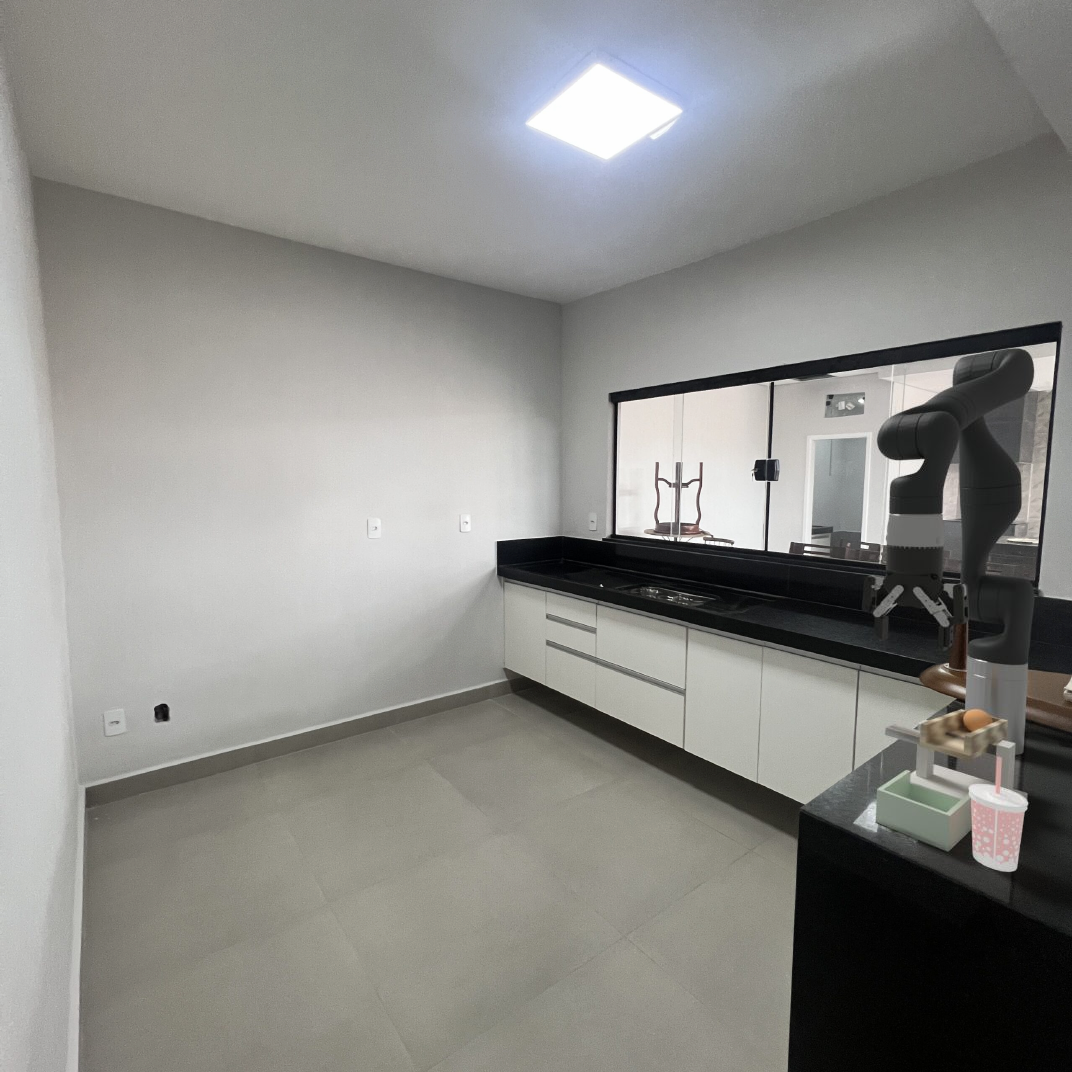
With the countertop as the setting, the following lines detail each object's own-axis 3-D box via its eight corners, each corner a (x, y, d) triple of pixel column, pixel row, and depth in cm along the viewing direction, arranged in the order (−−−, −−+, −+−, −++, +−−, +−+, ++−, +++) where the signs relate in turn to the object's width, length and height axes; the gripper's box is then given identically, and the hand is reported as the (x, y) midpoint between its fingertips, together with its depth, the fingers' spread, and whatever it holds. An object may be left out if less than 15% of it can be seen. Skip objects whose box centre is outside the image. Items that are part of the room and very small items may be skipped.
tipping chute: (926, 727, 107) (928, 701, 107) (1012, 750, 97) (1014, 722, 97) (884, 743, 96) (886, 714, 96) (976, 771, 86) (978, 738, 86)
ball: (964, 733, 100) (969, 712, 102) (992, 741, 97) (998, 719, 98) (957, 724, 98) (963, 702, 99) (986, 731, 95) (992, 709, 96)
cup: (906, 799, 93) (908, 768, 93) (976, 824, 86) (977, 791, 85) (875, 822, 86) (876, 789, 86) (948, 851, 79) (949, 815, 79)
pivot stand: (927, 767, 104) (929, 712, 104) (1027, 799, 93) (1030, 738, 93) (899, 787, 97) (901, 728, 96) (1003, 824, 86) (1007, 757, 85)
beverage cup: (1025, 859, 77) (1030, 756, 76) (1023, 882, 73) (1029, 772, 72) (968, 841, 81) (972, 743, 81) (963, 861, 77) (967, 757, 76)
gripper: (977, 543, 88) (973, 649, 89) (876, 538, 99) (874, 632, 100) (960, 547, 83) (956, 658, 85) (856, 541, 95) (854, 640, 96)
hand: (911, 644), depth 93 cm, fingers open, 8 cm apart
